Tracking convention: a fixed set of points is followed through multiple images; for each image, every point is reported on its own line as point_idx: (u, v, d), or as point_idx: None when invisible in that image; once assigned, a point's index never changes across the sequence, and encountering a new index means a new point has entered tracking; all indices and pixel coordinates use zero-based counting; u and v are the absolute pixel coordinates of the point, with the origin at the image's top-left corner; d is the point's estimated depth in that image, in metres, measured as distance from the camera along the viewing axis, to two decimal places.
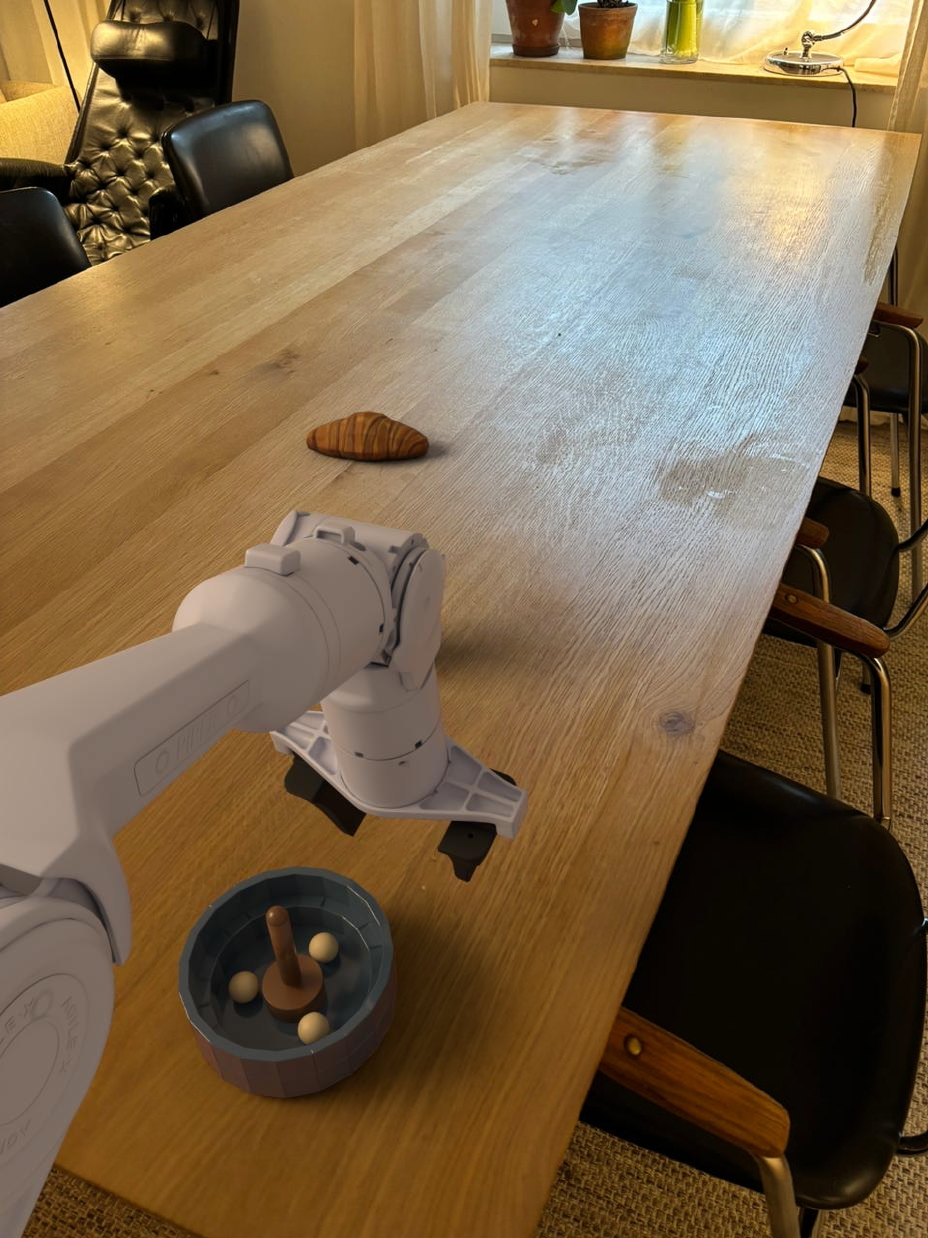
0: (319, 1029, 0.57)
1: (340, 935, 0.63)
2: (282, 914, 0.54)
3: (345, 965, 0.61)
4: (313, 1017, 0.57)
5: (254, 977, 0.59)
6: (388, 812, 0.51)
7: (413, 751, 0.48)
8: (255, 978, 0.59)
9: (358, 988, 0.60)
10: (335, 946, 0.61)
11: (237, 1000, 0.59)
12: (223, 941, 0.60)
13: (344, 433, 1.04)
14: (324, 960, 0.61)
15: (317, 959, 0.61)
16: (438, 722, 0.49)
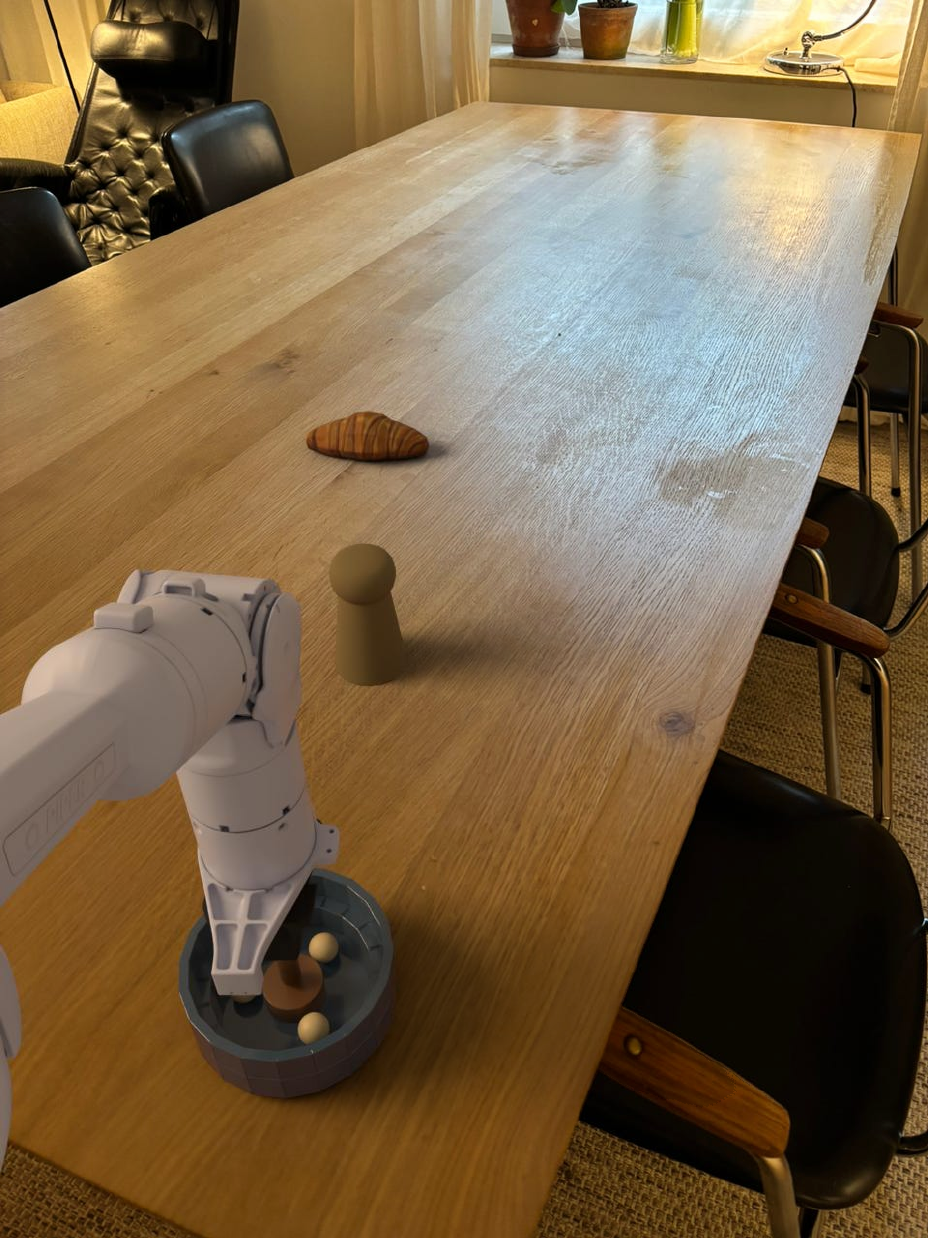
0: (319, 1029, 0.57)
1: (340, 935, 0.63)
2: None
3: (345, 965, 0.61)
4: (313, 1017, 0.57)
5: None
6: None
7: (205, 827, 0.45)
8: None
9: (358, 988, 0.60)
10: (335, 946, 0.61)
11: (237, 1000, 0.59)
12: None
13: (344, 433, 1.04)
14: (324, 960, 0.61)
15: (317, 959, 0.61)
16: (245, 833, 0.45)
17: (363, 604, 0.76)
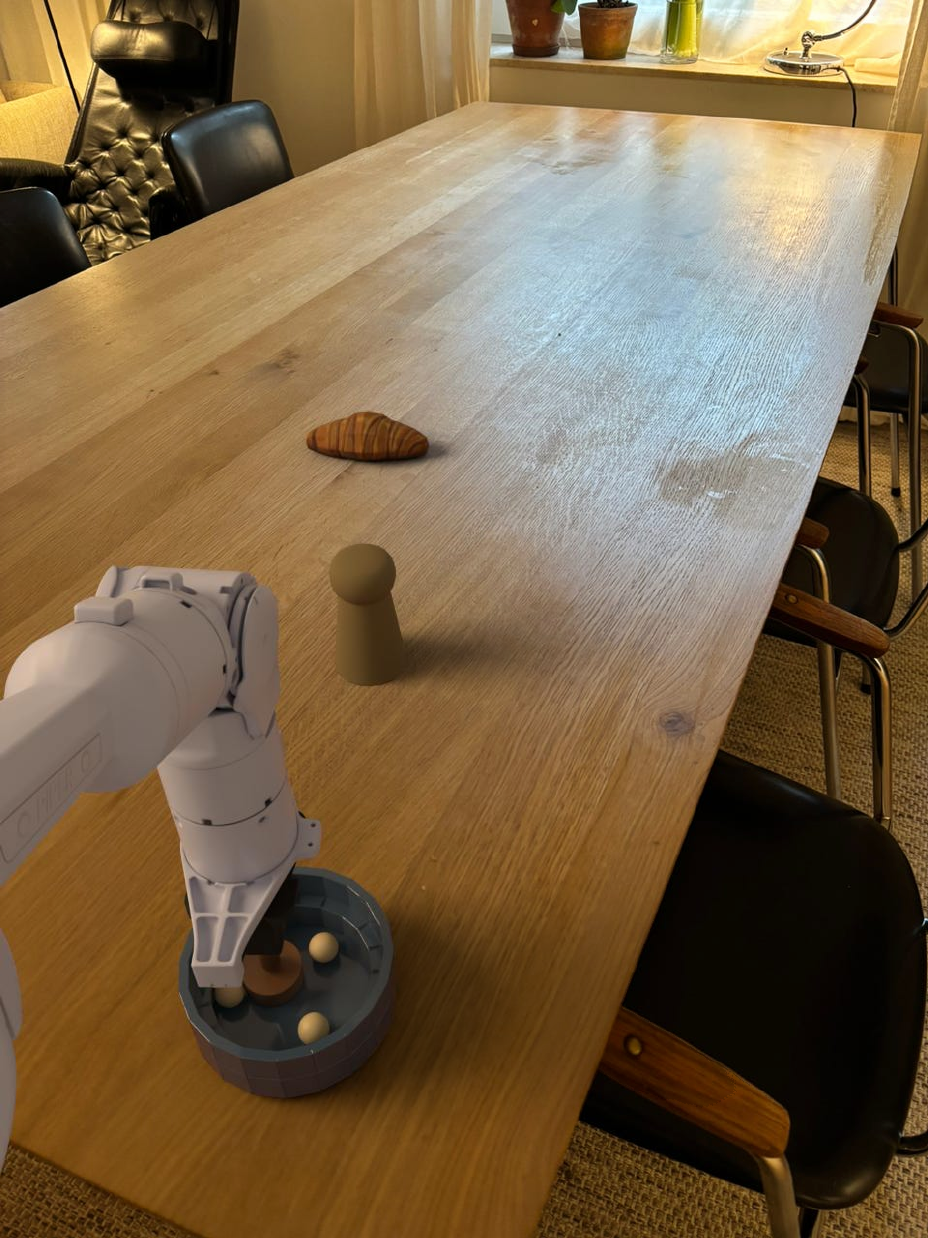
0: (319, 1029, 0.57)
1: (340, 935, 0.63)
2: None
3: (345, 965, 0.61)
4: (313, 1017, 0.57)
5: None
6: None
7: (186, 820, 0.46)
8: None
9: (358, 988, 0.60)
10: (335, 946, 0.61)
11: None
12: None
13: (344, 433, 1.04)
14: (324, 960, 0.61)
15: (317, 959, 0.61)
16: (225, 826, 0.45)
17: (363, 604, 0.76)
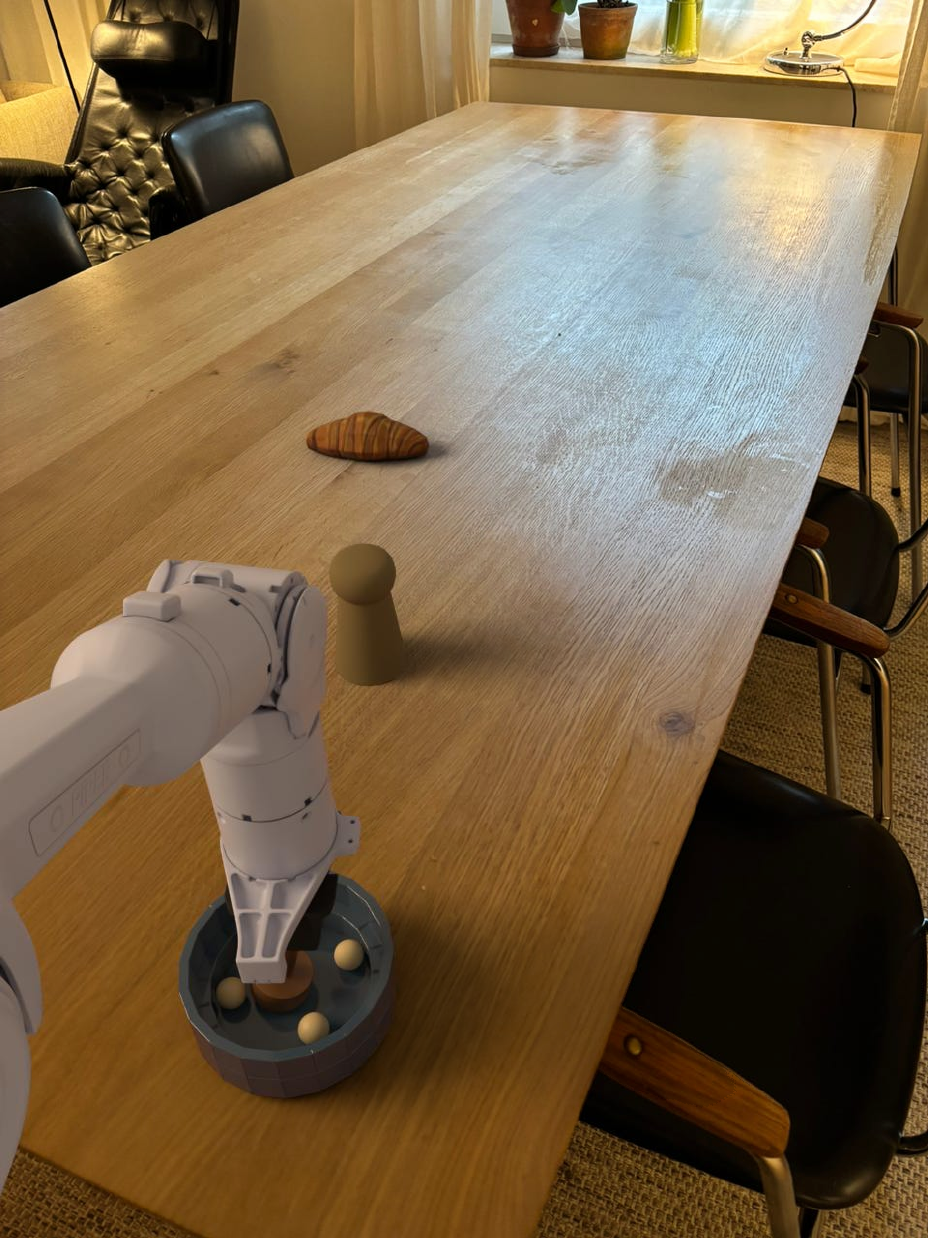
0: (319, 1029, 0.57)
1: (340, 935, 0.63)
2: None
3: None
4: (313, 1017, 0.57)
5: (232, 983, 0.59)
6: None
7: (230, 816, 0.46)
8: (233, 984, 0.59)
9: (358, 988, 0.60)
10: None
11: (226, 1008, 0.59)
12: (223, 941, 0.60)
13: (344, 433, 1.04)
14: (340, 964, 0.60)
15: (342, 959, 0.60)
16: (269, 822, 0.45)
17: (363, 604, 0.76)
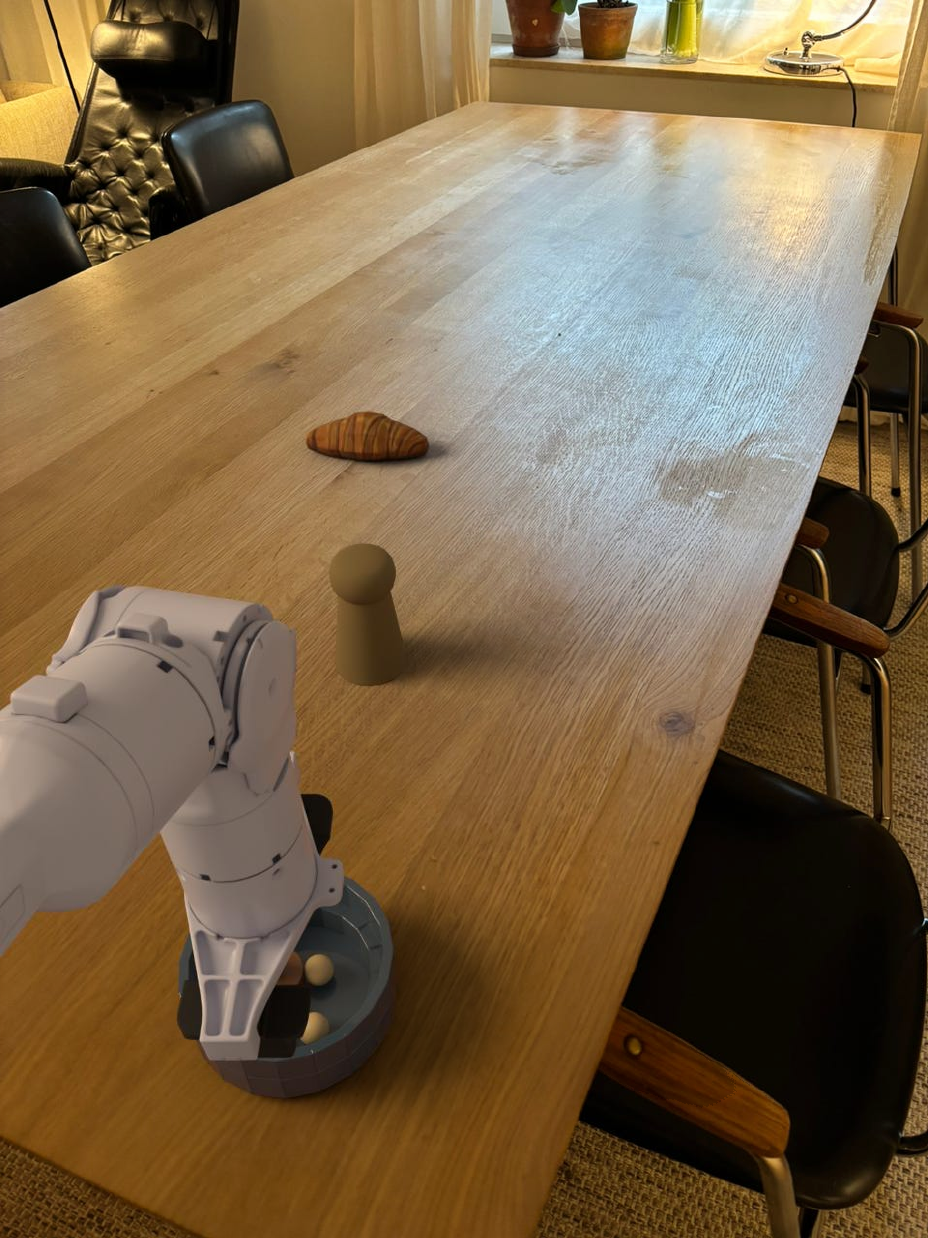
0: (319, 1029, 0.57)
1: (340, 935, 0.63)
2: None
3: (345, 965, 0.61)
4: (313, 1017, 0.57)
5: None
6: None
7: (189, 875, 0.40)
8: None
9: (358, 988, 0.60)
10: (331, 969, 0.60)
11: None
12: None
13: (344, 434, 1.04)
14: None
15: None
16: (234, 882, 0.39)
17: (363, 604, 0.76)
